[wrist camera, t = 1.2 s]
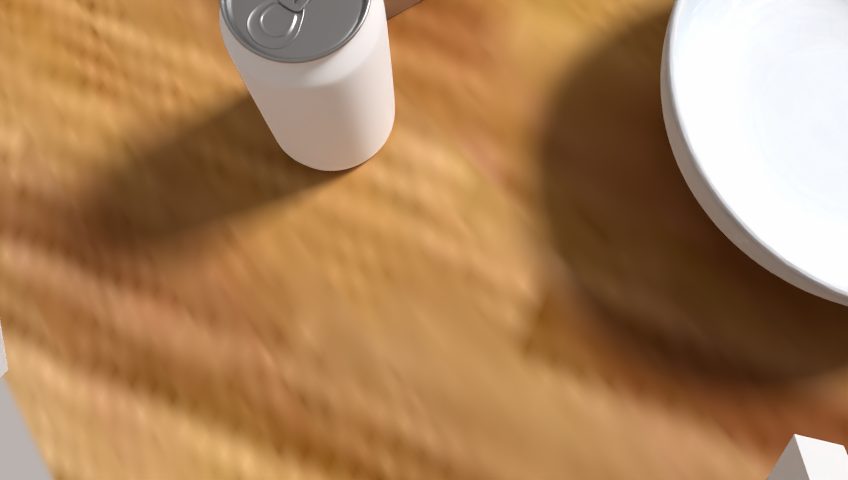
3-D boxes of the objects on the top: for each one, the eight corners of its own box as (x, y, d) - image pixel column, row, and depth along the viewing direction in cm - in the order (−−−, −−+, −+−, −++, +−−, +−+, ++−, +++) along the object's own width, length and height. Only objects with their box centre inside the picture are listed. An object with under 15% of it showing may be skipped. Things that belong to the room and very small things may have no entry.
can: (245, 130, 40) (171, 13, 28) (319, 34, 41) (276, -116, 29) (348, 198, 39) (315, 106, 27) (419, 98, 40) (417, -31, 29)
